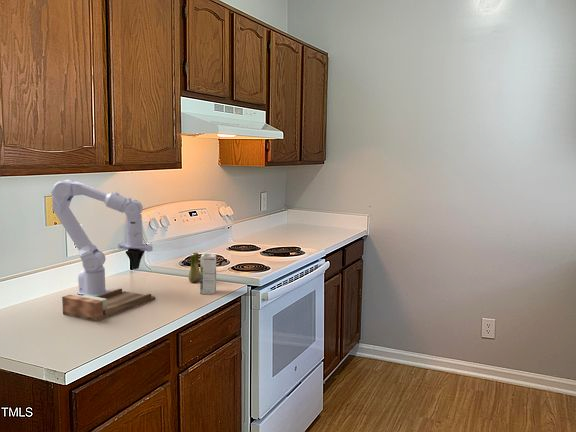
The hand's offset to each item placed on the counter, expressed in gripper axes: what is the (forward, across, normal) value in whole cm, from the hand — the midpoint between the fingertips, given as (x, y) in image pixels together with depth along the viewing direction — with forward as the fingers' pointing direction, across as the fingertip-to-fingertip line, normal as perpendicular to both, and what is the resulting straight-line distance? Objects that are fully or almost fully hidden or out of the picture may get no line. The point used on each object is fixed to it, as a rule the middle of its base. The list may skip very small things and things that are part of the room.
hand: (135, 268), depth 203 cm
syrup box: (+10, +24, +12) cm, 29 cm away
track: (+9, +3, -18) cm, 20 cm away
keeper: (+8, +3, -26) cm, 28 cm away
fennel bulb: (+10, +11, +23) cm, 27 cm away
